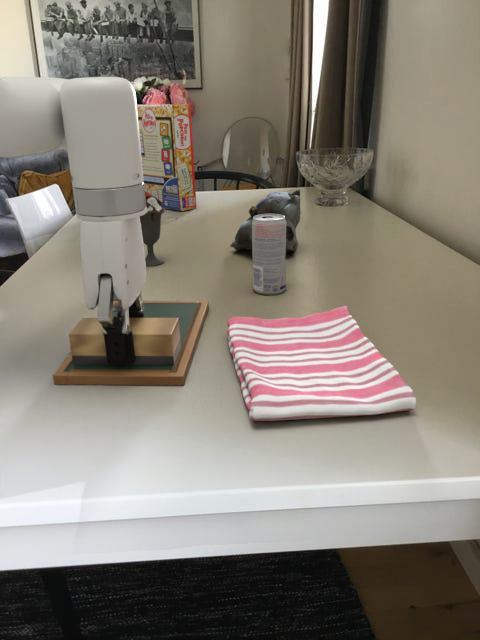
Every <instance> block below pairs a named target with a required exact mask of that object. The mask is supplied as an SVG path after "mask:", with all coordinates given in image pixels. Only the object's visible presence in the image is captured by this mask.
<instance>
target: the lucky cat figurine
mask: <svg viewBox="0 0 480 640" xmlns="http://www.w3.org/2000/svg"><path fill="white" fill-rule="evenodd" d="M301 213H302V211H301V190H300V189H297V190H295V191H293V192H292V193H290V192H288V191H287V192H286V191H273V192H269V194H268V195H267V196H265V197H263V198H260V199H259V201H258V202H257V203H256V204H255V206H254V205H252V206H251V207H250V208H249V210H248V214H249V215H250V217H248V219H246V220H245V221H244V222H242V223H241V225H240V226H239V228H238V230H237V233H236V234H235V236H234V240H233V241H232V242H231V244H229V246H230V248H234V249H235V251H238V250H243V249H252V221H253V217H254V216H256V215H260V214H280V215H283V216H285V220H286V253H288V254H292V255H293V254H296V251H297V249H298V246H299V242H298V239H297V238H298V237H297V232H296V230H297V226H298V225H299V223H300V221H301Z"/></svg>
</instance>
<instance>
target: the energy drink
mask: <svg viewBox="0 0 480 640" xmlns="http://www.w3.org/2000/svg"><path fill="white" fill-rule="evenodd" d="M251 250H252V251H251V252H252V253H251V255H252V289H253V291H254V292H255V293H256V294H259V295H263V296H264V295H265V296H274V295H280V294H283V292H285V290H286V289H287V252H286V220H285V216H283V215H280V214H260V215H256V216H254V217H253V221H252V248H251Z"/></svg>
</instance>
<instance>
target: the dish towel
mask: <svg viewBox="0 0 480 640" xmlns="http://www.w3.org/2000/svg"><path fill="white" fill-rule="evenodd" d="M226 324H227V327H228V329H227V331H226V334H227V336H228V348H229V352H230V354H231V356H232V360H233V365H234V368H235V372H236V376H237V377H238V379H239V382H240V390H241V392H242V396H243V400H244V404H245V406H246V408H247V409H248V412H249V414H248V415H249V416H248V417H249V418H250V420H252V421H259V422H275V421H289V420H291V421H292V420H304V419H306V420H307V419H325V418H339V417H359V416H360V417H361V416H375V415H381V414H387V413H388V414H389V413H398V412H399V413H400V412H405V411H413V410H415V408H416V406H417V397H416V396H415V393H414V390H413V389H412V388H411V387H410V386H409V385H408V384H407V383H406V382H405V381H404V379H403V378H402V376H401V375H400V373H399V372H398V370H396V368H395V367H394V365H393V364H391V363H390V362H389V361H388V360H387V358H385V357H383V356H382V354H381V353H380V351H379V350H378V349H377V348H376V346H375V344H373V343H372V342H371V341H370V339H369V338H368V337H366V336H365V335H364V334H363V333H362V331H361V328H360V325H358V322H357V321H356V319H354V318H353V316H352V315H350V311H349V307H348V306H347V305H343V306H340V307H336V308H333V309H330V310H328V311H325V312H317V313H312V314H310V315H307V316H302V317H281V318H273V319H268V318H267V319H266V318H260V317H254V316H253V317H252V316H232V317H231V318H230V319H228V320H227V322H226Z"/></svg>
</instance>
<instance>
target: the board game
mask: <svg viewBox="0 0 480 640" xmlns="http://www.w3.org/2000/svg"><path fill="white" fill-rule="evenodd" d="M137 113H138V124H139V134H140V145H141V157H142V168H143V179H144V181H143V182H144V189H145V192H148V193H150V195H151V196H154V197H156V198H157V199H159V200H160V201H161V205H160V206H161V207H163V208H165V209H167V210H173V211H178V212H185V211H189V210H193V209H197V193H196V192H197V191H196V190H197V189H196V178H195V176H196V175H195V173H196V172H195V160H194V159H195V157H194V143H193V142H194V140H193V125H192V108H191V103H177V104H175V103H174V104H137Z"/></svg>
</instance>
